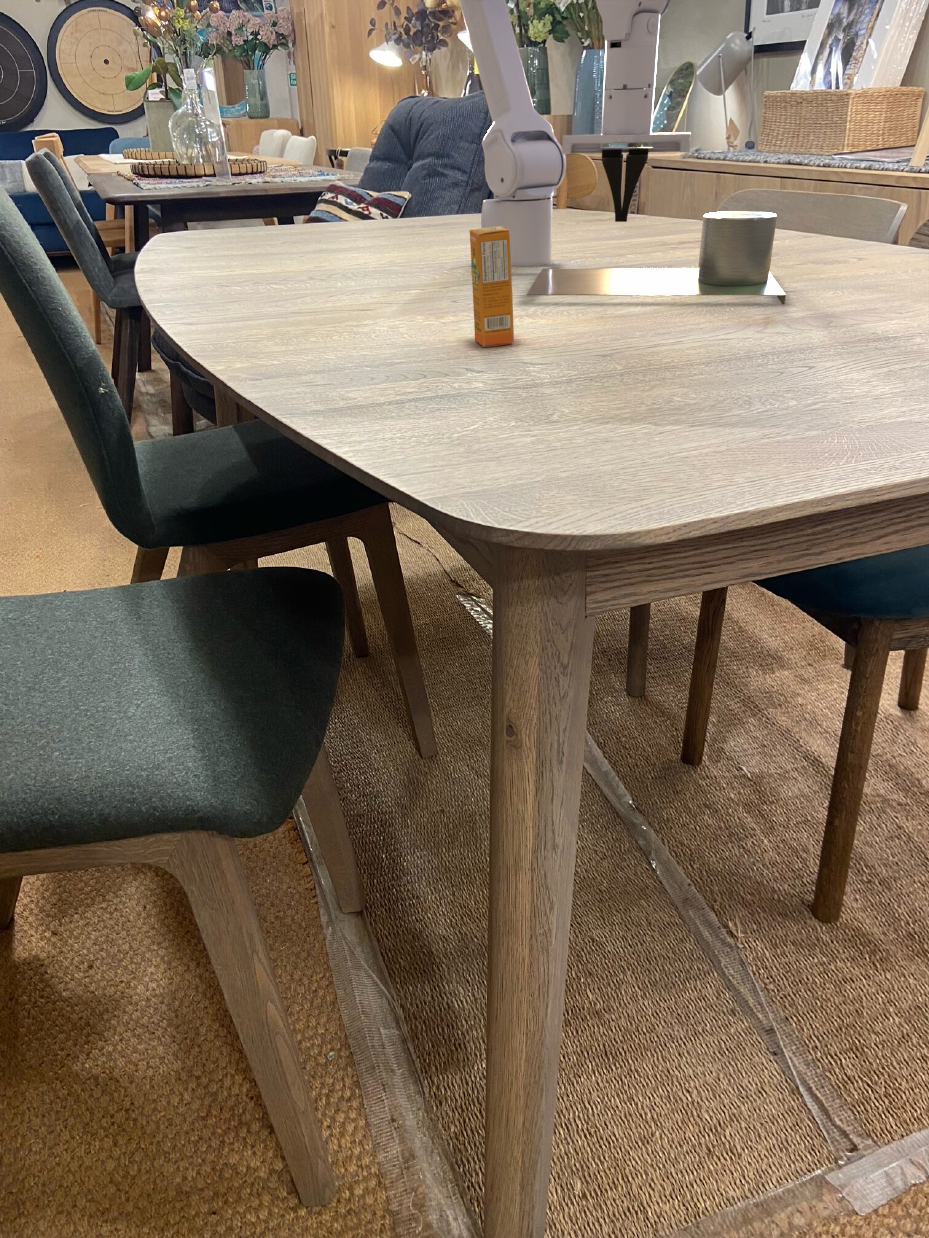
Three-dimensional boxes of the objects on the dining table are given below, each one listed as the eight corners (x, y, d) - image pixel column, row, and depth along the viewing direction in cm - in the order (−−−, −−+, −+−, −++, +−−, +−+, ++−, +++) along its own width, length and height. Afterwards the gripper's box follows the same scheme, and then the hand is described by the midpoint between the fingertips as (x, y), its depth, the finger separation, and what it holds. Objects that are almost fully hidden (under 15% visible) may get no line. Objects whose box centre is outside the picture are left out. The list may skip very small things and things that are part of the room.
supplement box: (470, 340, 85) (467, 227, 80) (505, 337, 86) (504, 225, 81) (479, 348, 82) (477, 231, 77) (515, 344, 83) (514, 229, 78)
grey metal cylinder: (698, 286, 101) (705, 219, 97) (695, 274, 107) (701, 211, 104) (771, 286, 99) (781, 218, 96) (764, 274, 106) (772, 210, 103)
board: (526, 303, 100) (526, 294, 100) (542, 277, 115) (542, 268, 115) (784, 304, 95) (786, 294, 95) (765, 276, 111) (766, 268, 110)
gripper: (561, 91, 98) (558, 225, 105) (696, 87, 95) (683, 224, 102) (566, 91, 104) (563, 218, 111) (693, 88, 101) (682, 217, 108)
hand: (621, 221), depth 107 cm, fingers closed
